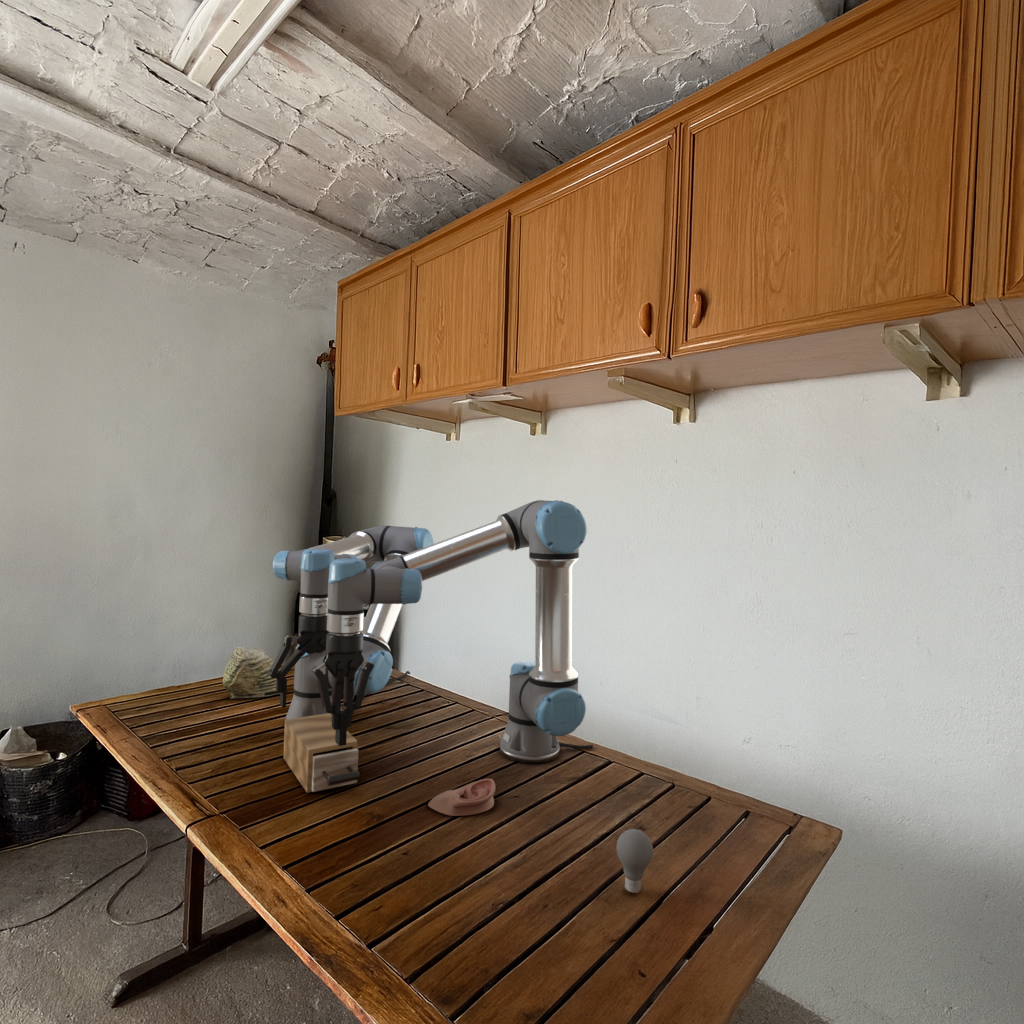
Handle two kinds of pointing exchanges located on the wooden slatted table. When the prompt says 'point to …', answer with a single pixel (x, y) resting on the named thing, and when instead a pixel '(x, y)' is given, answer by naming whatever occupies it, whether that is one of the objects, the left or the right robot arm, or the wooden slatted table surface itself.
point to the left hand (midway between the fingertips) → (312, 702)
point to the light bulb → (634, 857)
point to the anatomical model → (466, 799)
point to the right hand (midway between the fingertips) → (340, 743)
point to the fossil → (249, 674)
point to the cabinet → (310, 744)
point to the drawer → (334, 768)
